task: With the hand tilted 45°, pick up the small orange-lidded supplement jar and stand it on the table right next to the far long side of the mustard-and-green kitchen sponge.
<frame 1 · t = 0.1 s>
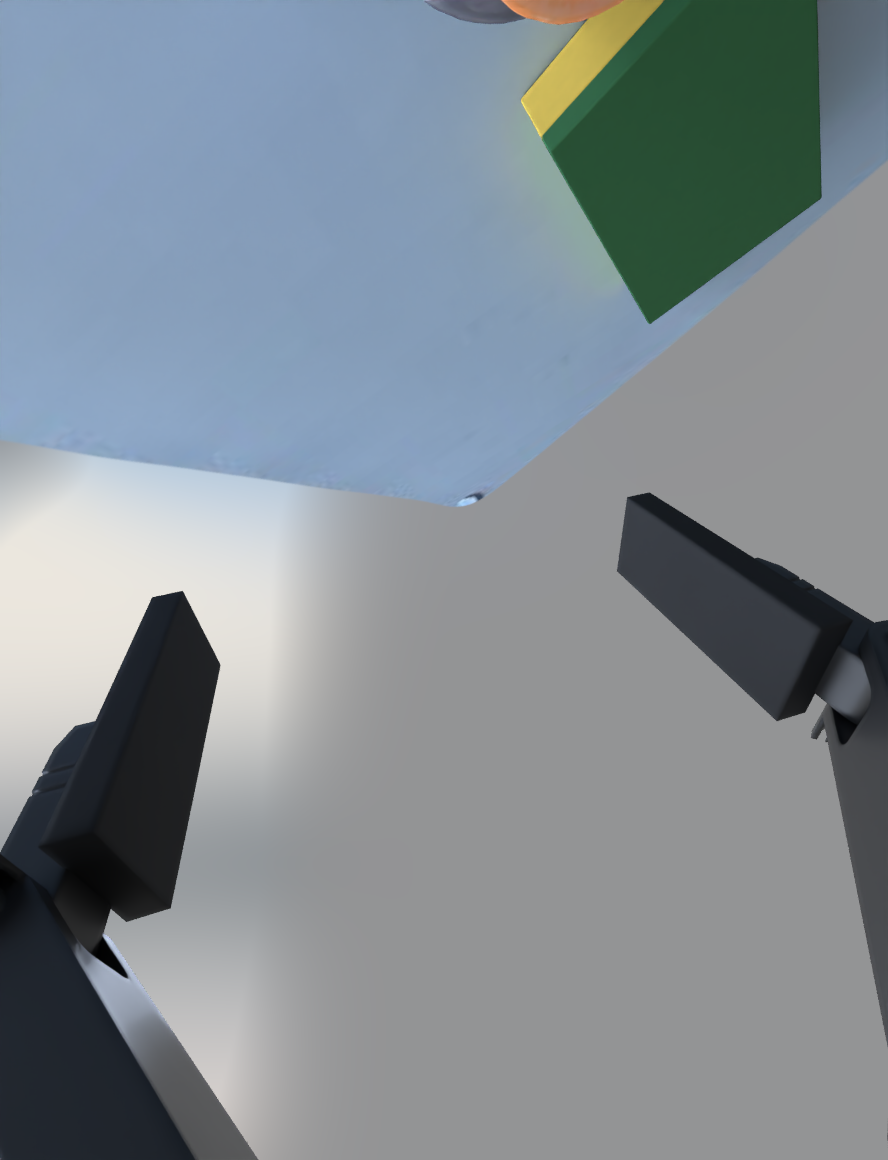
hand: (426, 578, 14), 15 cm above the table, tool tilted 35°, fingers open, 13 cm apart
sponge: (667, 129, 18), on the table
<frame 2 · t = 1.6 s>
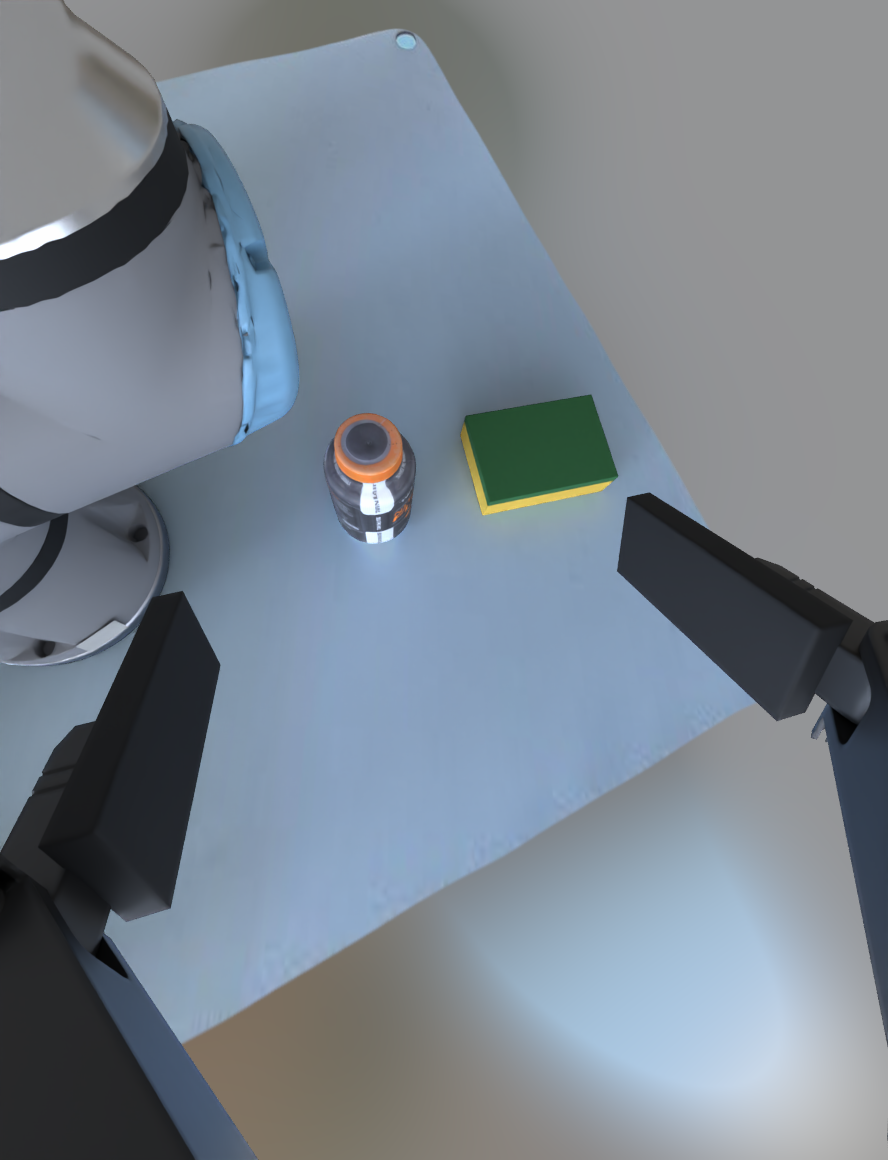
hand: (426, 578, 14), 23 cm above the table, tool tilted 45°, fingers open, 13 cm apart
sponge: (531, 463, 41), on the table
orange-lidded supplement jar: (374, 510, 38), on the table
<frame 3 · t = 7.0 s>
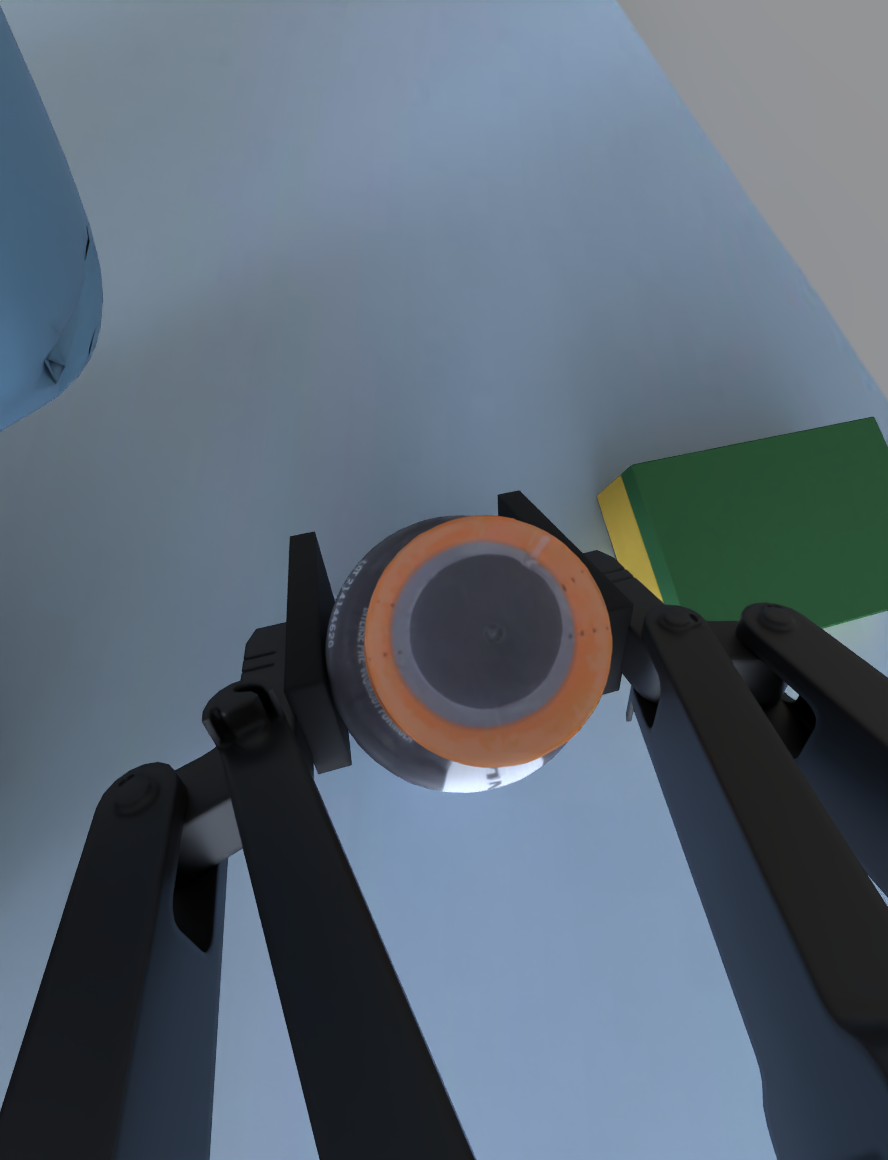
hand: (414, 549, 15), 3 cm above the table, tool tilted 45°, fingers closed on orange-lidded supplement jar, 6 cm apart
sponge: (735, 550, 21), on the table
orange-lidded supplement jar: (431, 661, 18), on the table, touching gripper
when the fingers open (3 cm above the table, at t = 15.5 s): orange-lidded supplement jar stays where it is, on the table.
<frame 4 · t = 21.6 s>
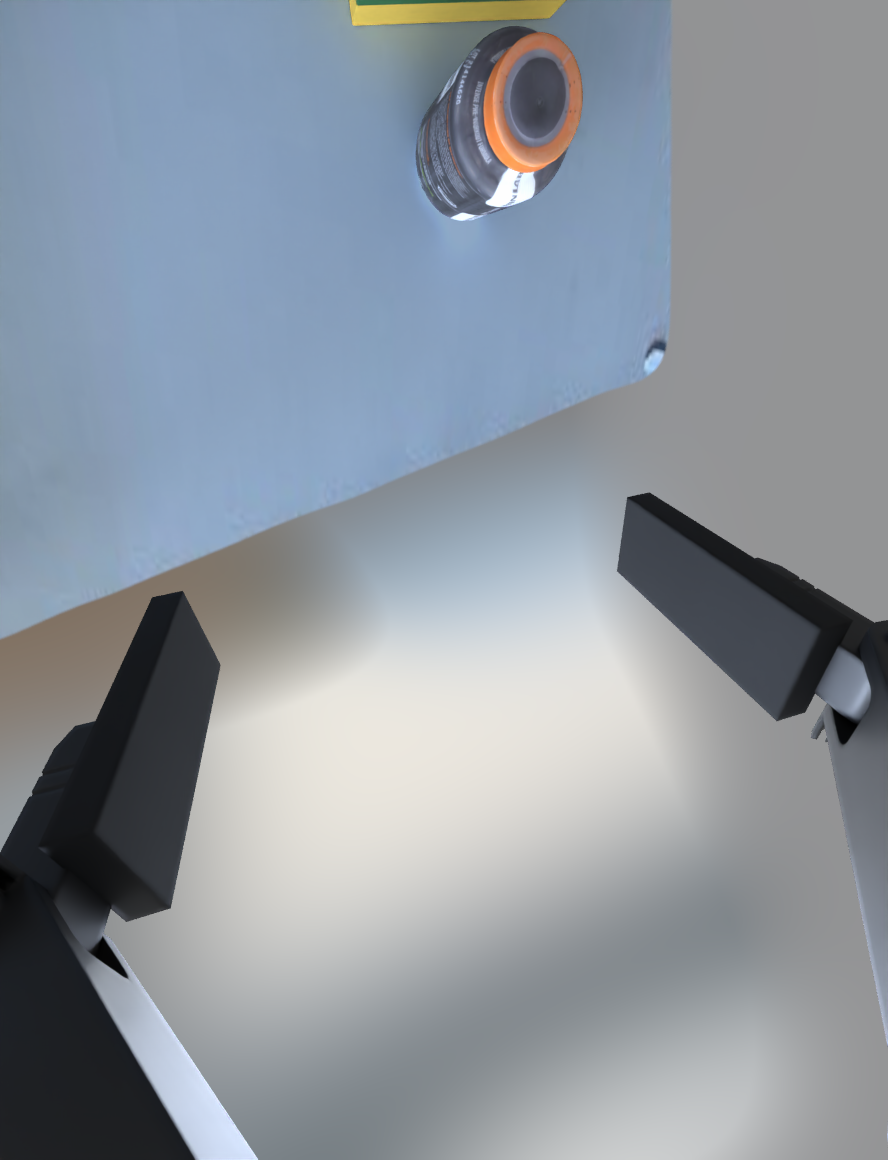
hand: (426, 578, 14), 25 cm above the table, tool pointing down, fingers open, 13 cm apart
orange-lidded supplement jar: (461, 160, 28), on the table
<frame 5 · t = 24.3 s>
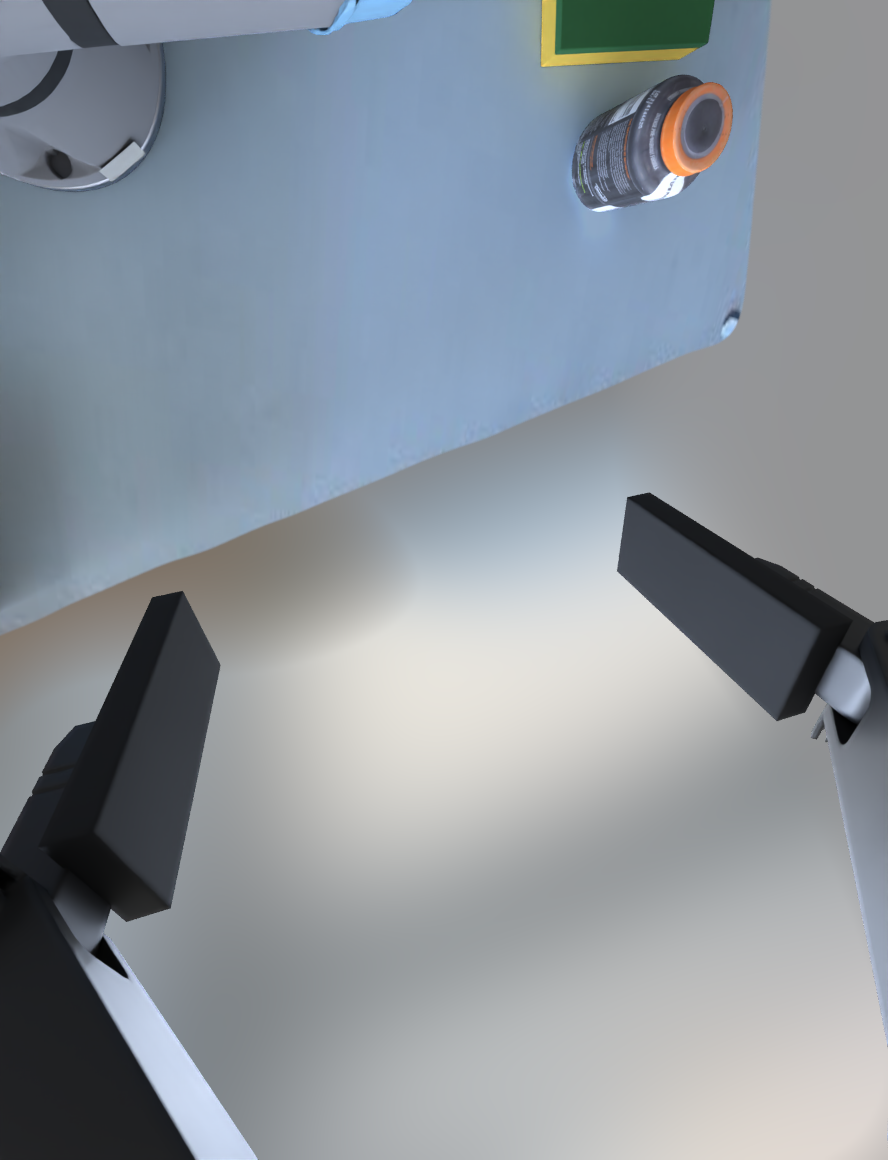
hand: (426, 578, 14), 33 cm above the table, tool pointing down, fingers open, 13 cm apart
orange-lidded supplement jar: (602, 165, 37), on the table
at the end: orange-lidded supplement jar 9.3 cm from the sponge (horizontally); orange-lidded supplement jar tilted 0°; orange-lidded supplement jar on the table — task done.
